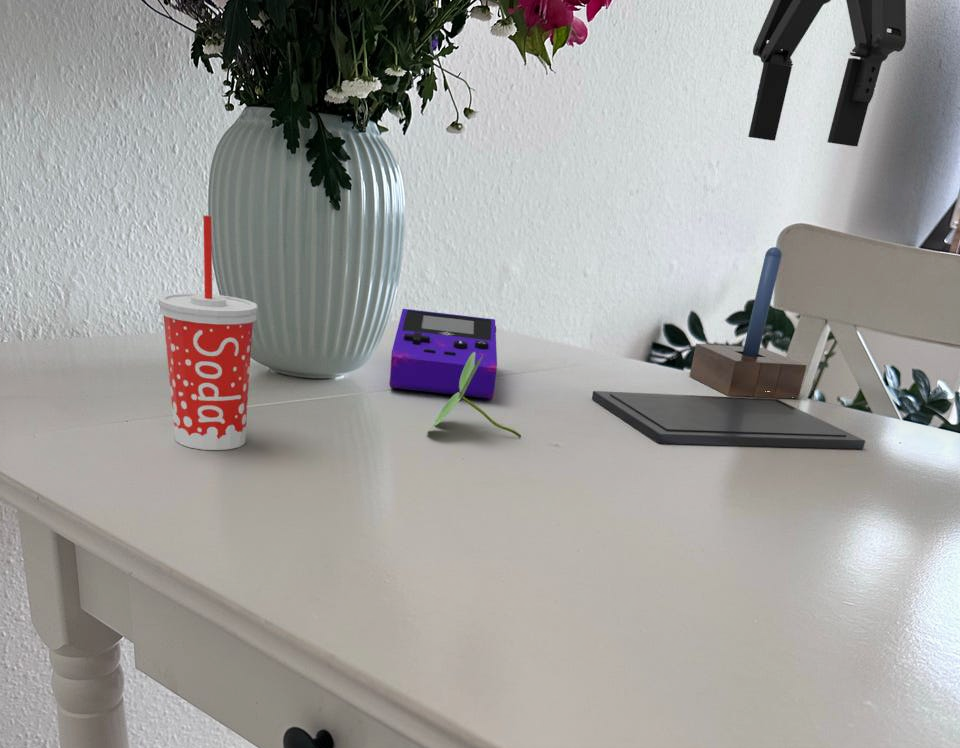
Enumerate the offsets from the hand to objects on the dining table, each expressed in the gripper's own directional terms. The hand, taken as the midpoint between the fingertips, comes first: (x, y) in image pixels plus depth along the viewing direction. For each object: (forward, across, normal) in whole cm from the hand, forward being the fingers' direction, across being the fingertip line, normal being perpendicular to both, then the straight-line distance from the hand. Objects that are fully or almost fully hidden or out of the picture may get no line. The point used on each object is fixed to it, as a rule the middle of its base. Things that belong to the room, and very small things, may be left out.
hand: (799, 142), depth 92 cm
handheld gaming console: (+24, +3, -34) cm, 41 cm away
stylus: (+23, 0, 0) cm, 23 cm away
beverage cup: (+24, +24, -56) cm, 65 cm away
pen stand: (+23, 0, 0) cm, 23 cm away
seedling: (+24, +21, -37) cm, 49 cm away
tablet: (+23, +15, -11) cm, 30 cm away
